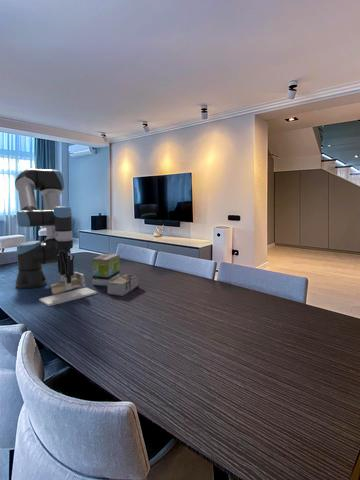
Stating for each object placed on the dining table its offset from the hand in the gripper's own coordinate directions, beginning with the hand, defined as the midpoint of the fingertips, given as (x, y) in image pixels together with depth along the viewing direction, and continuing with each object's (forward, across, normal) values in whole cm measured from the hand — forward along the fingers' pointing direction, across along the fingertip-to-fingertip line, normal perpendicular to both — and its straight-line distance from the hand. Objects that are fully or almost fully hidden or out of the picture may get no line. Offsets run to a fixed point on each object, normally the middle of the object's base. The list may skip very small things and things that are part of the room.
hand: (66, 288), depth 144 cm
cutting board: (+4, 0, +1) cm, 5 cm away
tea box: (+5, -10, +28) cm, 30 cm away
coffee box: (+1, +13, +18) cm, 22 cm away
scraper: (0, 0, 0) cm, 0 cm away
